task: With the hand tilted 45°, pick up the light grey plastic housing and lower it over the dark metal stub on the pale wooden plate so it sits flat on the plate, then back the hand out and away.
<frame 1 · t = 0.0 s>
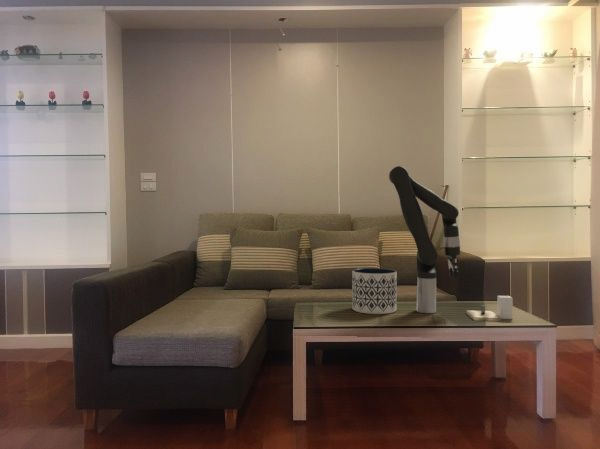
hand: (453, 278, 249), 17 cm above the table, tool pointing down, fingers open, 8 cm apart
housing: (504, 317, 238), on the table
stub plate: (483, 317, 239), on the table
planter: (374, 310, 255), on the table
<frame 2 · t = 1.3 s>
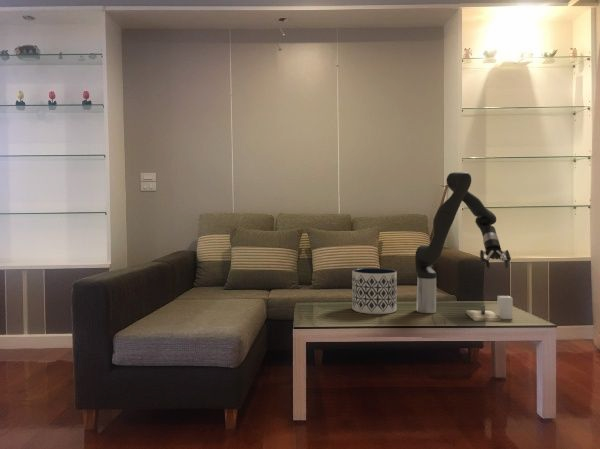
hand: (497, 267, 249), 23 cm above the table, tool tilted 45°, fingers open, 8 cm apart
nothing on the table moved.
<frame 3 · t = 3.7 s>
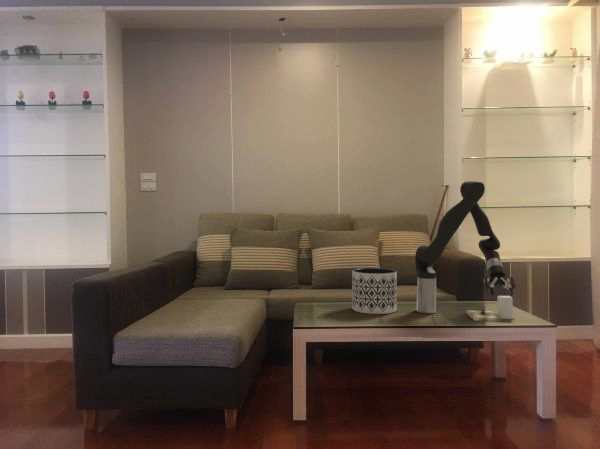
hand: (502, 295, 242), 10 cm above the table, tool tilted 45°, fingers open, 8 cm apart
nothing on the table moved.
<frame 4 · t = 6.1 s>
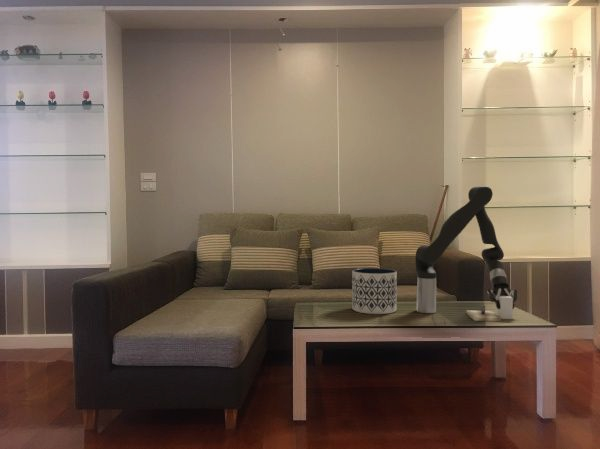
hand: (506, 308, 236), 5 cm above the table, tool tilted 45°, fingers closed on housing, 5 cm apart
housing: (504, 317, 238), on the table, touching gripper
everything else where it was.
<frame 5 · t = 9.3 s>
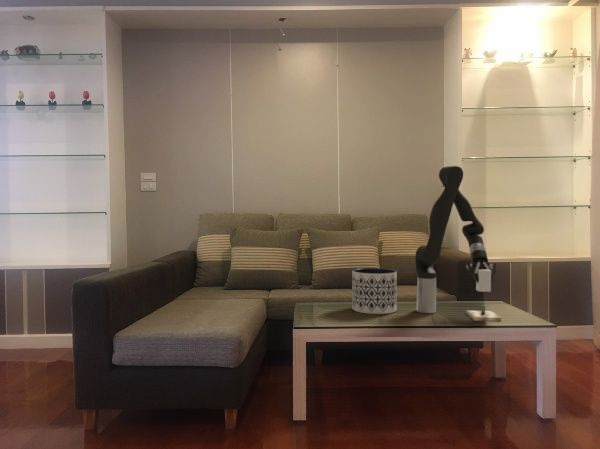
hand: (484, 281, 236), 17 cm above the table, tool tilted 45°, fingers closed on housing, 5 cm apart
housing: (483, 290, 238), point 13 cm above the table, touching gripper
everything else where it was.
when the fingers open (7 cm above the table, at t = 12.4 s): housing stays where it is, resting on stub plate.
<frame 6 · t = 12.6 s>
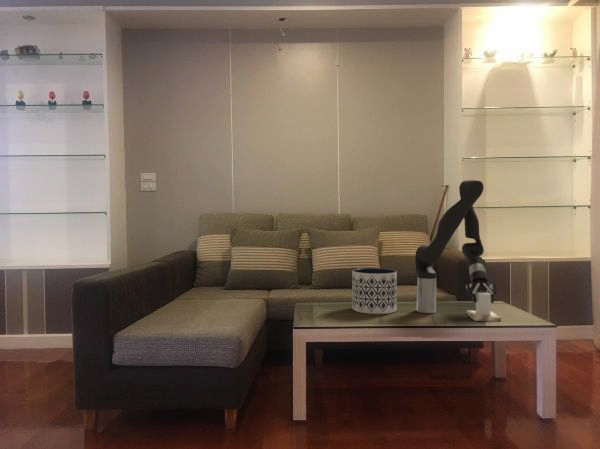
hand: (484, 302, 237), 7 cm above the table, tool tilted 45°, fingers open, 7 cm apart
housing: (483, 313, 239), point 1 cm above the table, touching stub plate
everything else where it was.
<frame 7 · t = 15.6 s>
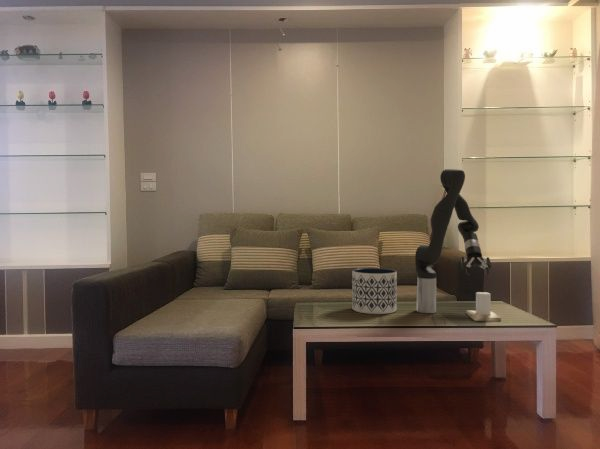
hand: (478, 274, 248), 19 cm above the table, tool tilted 45°, fingers open, 8 cm apart
nothing on the table moved.
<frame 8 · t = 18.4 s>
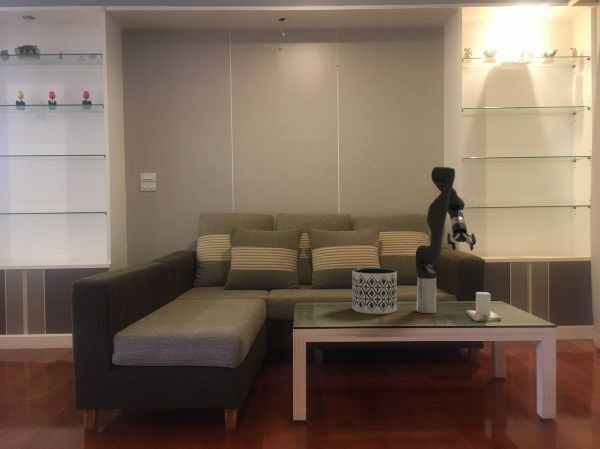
hand: (463, 249, 259), 31 cm above the table, tool tilted 45°, fingers open, 8 cm apart
nothing on the table moved.
at the end: housing 0.1 cm off-centre on the stub plate, point 1.5 cm above the stub plate's base; housing tilted 0°; the gripper is holding nothing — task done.
